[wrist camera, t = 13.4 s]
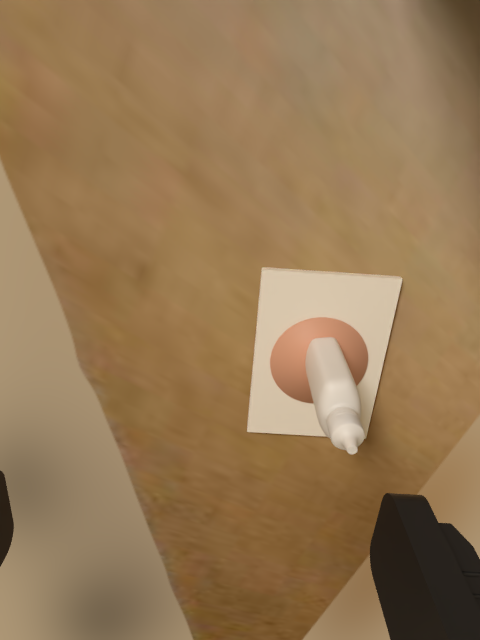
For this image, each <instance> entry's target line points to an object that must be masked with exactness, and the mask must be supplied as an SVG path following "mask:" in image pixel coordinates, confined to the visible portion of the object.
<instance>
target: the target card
mask: <svg viewBox="0 0 480 640" xmlns="http://www.w3.org/2000/svg"><path fill="white" fill-rule="evenodd" d="M402 280H403V279H402V278H401V277H400V276H386V275H371V274H356V273H341V272H326V271H311V270H296V269H282V268H267V267H262V271H261V282H260V293H259V303H258V314H257V325H256V336H255V347H254V358H253V369H252V380H251V390H250V401H249V412H248V423H247V432H257V433H274V434H292V435H309V436H326V435H325V434H324V432H323V430H322V429H321V427H320V424H319V421H318V418H317V414H316V410H315V406H314V402H313V398H312V394H311V390H310V386H309V382H308V378H307V374H306V367H305V359H306V353H307V349H308V347H309V344H310V342H311V341H312V340H313V339H315V338H323V337H334V338H335V339H336V340H337V342H338V343H339V345H340V348H341V350H342V352H343V355H344V357H345V360H346V362H347V364H348V367H349V369H350V372H351V374H352V376H353V379H354V381H355V384H356V386H357V389H358V392H359V395H360V400H361V417H360V421H361V424H362V426H363V429H364V432H365V438H364V439H366V437H367V433H368V428H369V424H370V419H371V415H372V411H373V406H374V402H375V398H376V393H377V389H378V385H379V380H380V376H381V371H382V367H383V363H384V358H385V354H386V350H387V345H388V341H389V337H390V332H391V328H392V323H393V319H394V315H395V310H396V306H397V302H398V297H399V293H400V288H401V284H402ZM326 437H327V436H326Z"/></svg>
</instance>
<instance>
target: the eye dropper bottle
mask: <svg viewBox="0 0 480 640" xmlns="http://www.w3.org/2000/svg"><path fill="white" fill-rule="evenodd" d="M305 367H306V374H307V378H308V382H309V386H310V390H311V394H312V398H313V402H314V406H315V410H316V414H317V418H318V421H319V424H320V427H321V429H322V430H323V432H324V434H325V435H326V436H327V437H329V438H331V441H332V443H333V445H334V446H336V447H337V448H339V449H342V450H347V452H348V453H349V454H355V453H356V452H357V450H358V449H357V447H358V446H359V445H361V443H362V442H363V441H364V438H365V432H364V429H363V426H362V424H361V421H360V417H361V400H360V395H359V392H358V389H357V386H356V384H355V381H354V379H353V376H352V374H351V372H350V369H349V367H348V364H347V362H346V360H345V357H344V355H343V352H342V350H341V348H340V345H339V343H338V342H337V340H336V339H335V338H334V337H323V338H315V339H313V340H312V341H311V342H310V344H309V347H308V349H307V353H306V359H305Z"/></svg>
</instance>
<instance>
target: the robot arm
mask: <svg viewBox="0 0 480 640" xmlns="http://www.w3.org/2000/svg"><path fill="white" fill-rule="evenodd" d="M13 528H14V524H13V518H12V513H11V507H10V503H9V496H8V491H7V486H6V481H5V477H4V474H3V473H2V471H0V566H1V564H2V563H3V561H4V559H5V557H6V555H7V553H8V550H9V547H10V545H11V541H12V537H13ZM370 563H371V570H372V575H373V579H374V582H375V586H376V590H377V593H378V596H379V600H380V604H381V607H382V611H383V614H384V618H385V621H386V625H387V628H388V632H389V635H390V639H391V640H480V559H479V557H478V555H477V553H476V552H475V550H474V548H473V546H472V545H471V544H470V543H469V542H468V541H467V540H466V539H465V538H464V537H463V536H462V535H461V534H460V533H459V531H458V530H457V529H456V528H455V527H454V526H453V525H452V524H447V523H438V521H437V519H436V517H435V515H434V513H433V511H432V509H431V507H430V505H429V503H428V501H427V499H426V498H425V497H424V496H422V495H410V494H392V493H386V494H385V495H384V497H383V499H382V503H381V507H380V510H379V514H378V518H377V522H376V525H375V529H374V533H373V537H372V540H371V546H370Z"/></svg>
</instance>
